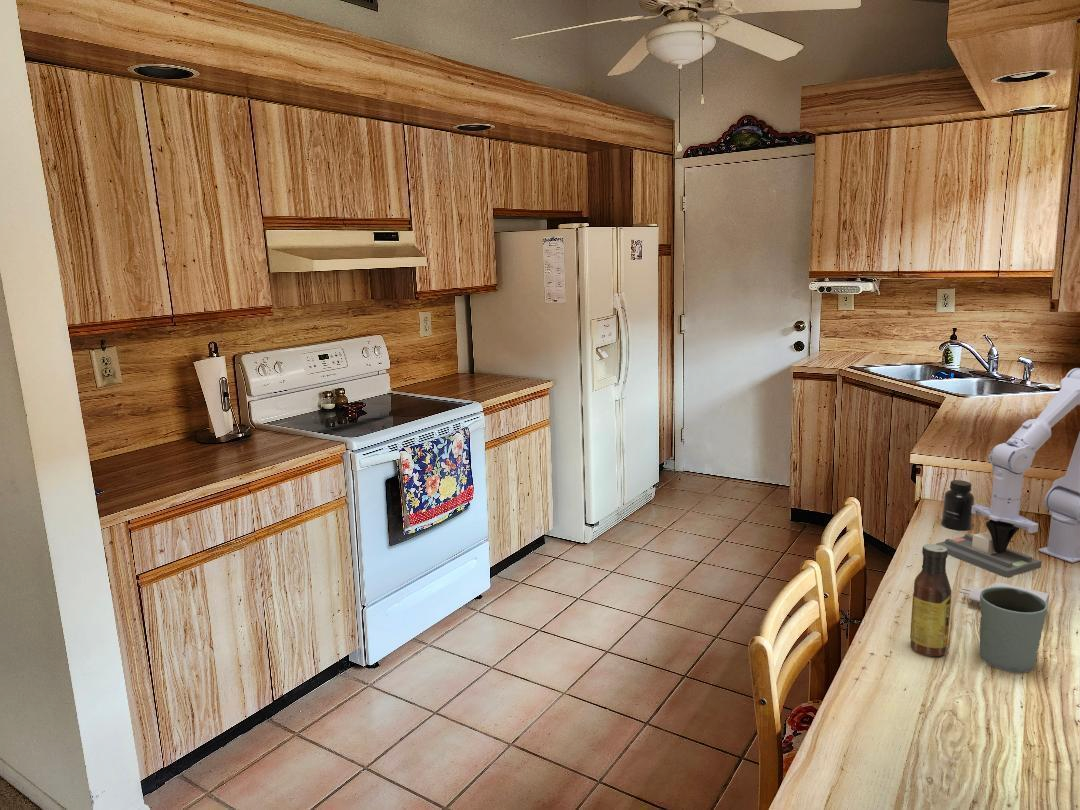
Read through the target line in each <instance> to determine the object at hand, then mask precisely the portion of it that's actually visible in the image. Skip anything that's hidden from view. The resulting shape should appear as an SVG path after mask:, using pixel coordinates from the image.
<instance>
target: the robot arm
mask: <svg viewBox="0 0 1080 810" xmlns="http://www.w3.org/2000/svg"><path fill="white" fill-rule="evenodd" d="M1077 406H1080V367H1075V368H1072V369H1070V370H1069V371H1068V372H1067V373H1066V375H1065V377H1063V378H1062V379H1061V380H1060V389H1059V390H1058V392H1057V393H1056V395H1055V396H1054V397H1053V398H1052V399H1051V401H1050V402H1049V403H1048V404H1047V405H1046V407H1045V408H1044V409H1043V410H1042V412H1041V413H1039V415H1038V416H1037V418H1032V419H1031V418H1030V419H1027V420H1026V421H1024V422H1023V423H1022V424H1021V426H1020V427H1019V428H1018V429H1017V430H1016V431H1015V432H1014V433H1013V434H1012V435H1011V436H1010V438H1009V439H1008V440H1007V441H1006V442H1002V443H999V444H997V445H995V446H994V447H993V449H992V450H991V452H990V454H989V455H988V460H989V463H990V465H991V467H992V468H991V472H992V473H993V478H992V488H991V498H990V506H986V505H981V504H974V505H973V506H972V511H971V513H972V515H978V516H982V517H985V518H988V519H989V520H988V521H986V522H985V526H986V527H987V529H988V533H990V534H991V537H992V540H993V545H994V550H995V552H997V553H1004V552H1005V551H1006V549H1007V548H1008V546H1009V544H1010V542H1011V540H1012V538H1013V537H1014V536H1015V535H1016V533H1017V532H1018V531H1019V530H1020V529H1022V530H1025V531H1027V532H1028V533H1029V534H1035V533H1037V532H1038V530H1039V523H1037V522H1035V521H1032V520H1031V519H1028V518H1026V517H1024V516H1022V515H1020V509H1021V501H1022V500H1021V499H1022V490H1023V484H1024V483H1023V481H1024V473H1025V472H1026V471H1028V470H1029V469H1031V466H1032V464H1033V460H1034V458H1035V457H1036V453H1037V451H1038V450H1039V449H1041V447H1042V446H1043V445H1044V444H1045V443H1046V442H1047V441H1048V440H1049V439H1050V438H1051V437H1052V428H1053V427H1054V426H1055V425H1056V424H1058V423H1059V421H1060V420H1062V419H1063V418H1064V417H1065V416H1067V414H1068V413H1070V412H1071V411H1072V410H1073V409H1074V408H1075V407H1077ZM1043 503H1044V507H1045V509H1047V510H1048V515H1050V524H1049V525H1050V526H1049V533H1048V540H1047V546H1045V547H1044V546H1043V547H1041V548H1039V549H1038V552H1040V553H1043V554H1046V555H1048V556H1052V557H1054V558H1058V559H1060V560H1063V561H1065V562H1068V563H1073V564H1074V563H1076V562H1079V561H1080V432H1079V433H1078V437H1077V439H1076V441H1075V445H1074V448H1073V451H1072V454H1071V457H1070V461H1069V463H1068V465H1067V469H1066V473H1065V475H1064V476H1062V477H1059V478H1057V479H1055V480H1053V483H1052V486H1051V487H1050V489H1048V491H1047V492H1046V494H1045V497H1044V502H1043Z"/></svg>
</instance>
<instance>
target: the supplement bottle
mask: <svg viewBox="0 0 1080 810" xmlns="http://www.w3.org/2000/svg"><path fill="white" fill-rule="evenodd" d="M971 491H972V483H971V482H969V481H966V480H963V479H962V480H961V479H960V480H959V479H954V480H951V481H950V485H949V489H948V490H947V491H946V492H945V493H944V499H943V505H942V506H943V508H942V517H941V524H942V526H944V527H945V528H946V529H947V528H948V529H951V530H955V531H967V530H970V528H972V523H973V522H972V521H973V514H972V513H971V511H972V506H973V505H975V496H974V494H973V493H971Z"/></svg>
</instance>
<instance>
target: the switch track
mask: <svg viewBox="0 0 1080 810" xmlns="http://www.w3.org/2000/svg"><path fill="white" fill-rule="evenodd" d="M973 535H974V534H972V535H971V534H969V533H965V534H964V535H963V536H960V537H957V538H952V539H951V538H947V539H945V540H944V541H940V542H937V543H935V544H936V545H941V546H944V547H946V548H947V550H948V556H951V557H953V558H956V559H959V560H961V561H963V562H965V563H969V564H971V565H974V566H976V567H979V568H981V569H984V570H986V571H989V572H990V573H993V572H994V573H993V574H996V575H998V574H999V575H998V576H1001V575H1002V576H1001V577H1003V576H1004V577H1003V578H1006V577H1007V578H1010V577H1014V576H1016V575H1021V574H1024V573H1027V572H1030V571H1033V570H1036V569H1040V568H1042V561H1043V560H1040V559H1038V558H1037V559H1036V558H1034V557H1032V556H1030V555H1027V554H1025V553H1022V552H1019V551H1016V550H1014V549H1012V548H1008V547H1007V549H1006V551H1005V552H1004V553H993V554H988V553H985V552H983V551H980V550H977V549H975V548H972V541H973ZM1023 572H1024V573H1023ZM1013 575H1014V576H1013Z"/></svg>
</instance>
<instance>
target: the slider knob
mask: <svg viewBox="0 0 1080 810" xmlns="http://www.w3.org/2000/svg"><path fill="white" fill-rule="evenodd" d="M972 535H973V541H972V548H975V549H977V550H980V551H983V552H985V553H988V554H993V553H997V552H995V550H994V545H993V540H992V537H991V534H990V532H989V531H983V532H978V533H975V534H972Z"/></svg>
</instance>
